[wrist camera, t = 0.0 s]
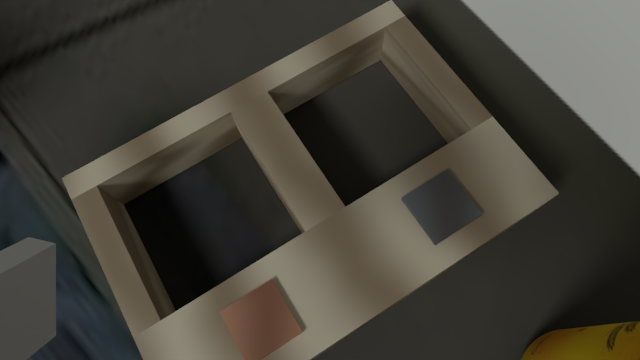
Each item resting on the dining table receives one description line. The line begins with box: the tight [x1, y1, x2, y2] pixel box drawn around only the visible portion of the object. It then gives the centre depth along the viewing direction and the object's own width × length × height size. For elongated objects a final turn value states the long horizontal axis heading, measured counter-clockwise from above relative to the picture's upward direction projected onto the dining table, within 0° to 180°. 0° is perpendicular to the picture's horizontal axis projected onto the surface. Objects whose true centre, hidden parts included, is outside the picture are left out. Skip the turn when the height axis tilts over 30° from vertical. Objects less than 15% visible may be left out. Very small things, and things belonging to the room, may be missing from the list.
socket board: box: [62, 0, 559, 360], centre depth 27 cm, size 22×16×4 cm
